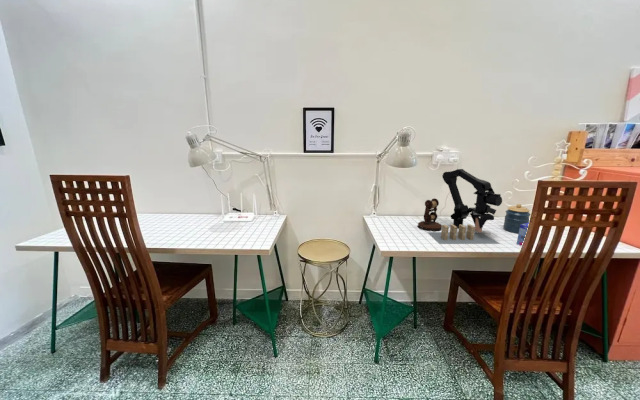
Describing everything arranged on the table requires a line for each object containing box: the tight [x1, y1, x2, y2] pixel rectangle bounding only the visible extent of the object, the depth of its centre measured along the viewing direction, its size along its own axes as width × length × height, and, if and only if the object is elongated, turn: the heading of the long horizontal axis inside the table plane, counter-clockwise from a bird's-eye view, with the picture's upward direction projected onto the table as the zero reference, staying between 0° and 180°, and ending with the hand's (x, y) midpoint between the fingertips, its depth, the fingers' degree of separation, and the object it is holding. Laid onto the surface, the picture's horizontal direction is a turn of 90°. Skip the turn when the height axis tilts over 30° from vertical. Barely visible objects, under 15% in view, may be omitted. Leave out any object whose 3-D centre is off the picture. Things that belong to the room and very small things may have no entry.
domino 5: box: [474, 218, 483, 233], centre depth 164 cm, size 2×5×8 cm, turn 179°
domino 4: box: [466, 224, 475, 240], centre depth 157 cm, size 2×5×8 cm, turn 179°
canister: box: [502, 203, 532, 234], centre depth 170 cm, size 13×13×18 cm
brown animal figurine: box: [417, 197, 443, 232], centre depth 176 cm, size 15×15×20 cm
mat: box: [426, 231, 501, 245], centre depth 160 cm, size 19×34×1 cm, turn 89°
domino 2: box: [449, 224, 458, 240], centre depth 157 cm, size 2×5×8 cm, turn 179°
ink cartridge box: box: [516, 223, 529, 246], centre depth 147 cm, size 10×6×14 cm, turn 114°
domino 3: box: [457, 224, 467, 240], centre depth 157 cm, size 2×5×8 cm, turn 179°
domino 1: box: [441, 224, 450, 240], centre depth 157 cm, size 2×5×8 cm, turn 179°
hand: (478, 226), depth 164 cm, fingers closed on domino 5, 5 cm apart
